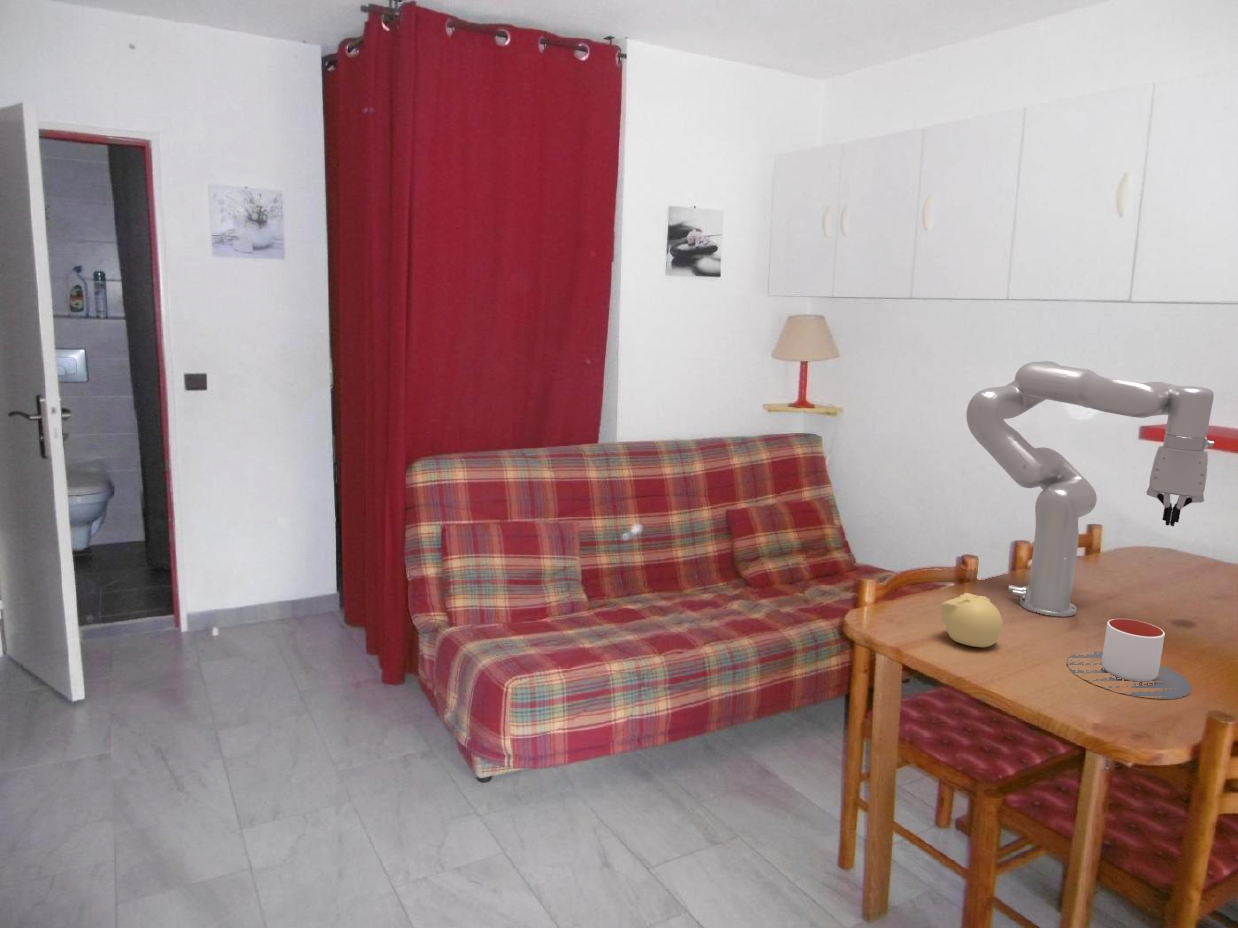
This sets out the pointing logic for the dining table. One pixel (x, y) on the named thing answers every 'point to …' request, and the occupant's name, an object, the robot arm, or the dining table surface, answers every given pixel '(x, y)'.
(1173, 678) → the mat
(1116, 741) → the dining table surface
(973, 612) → the sculpture
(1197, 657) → the dining table surface
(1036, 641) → the dining table surface
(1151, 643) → the cup
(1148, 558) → the dining table surface
